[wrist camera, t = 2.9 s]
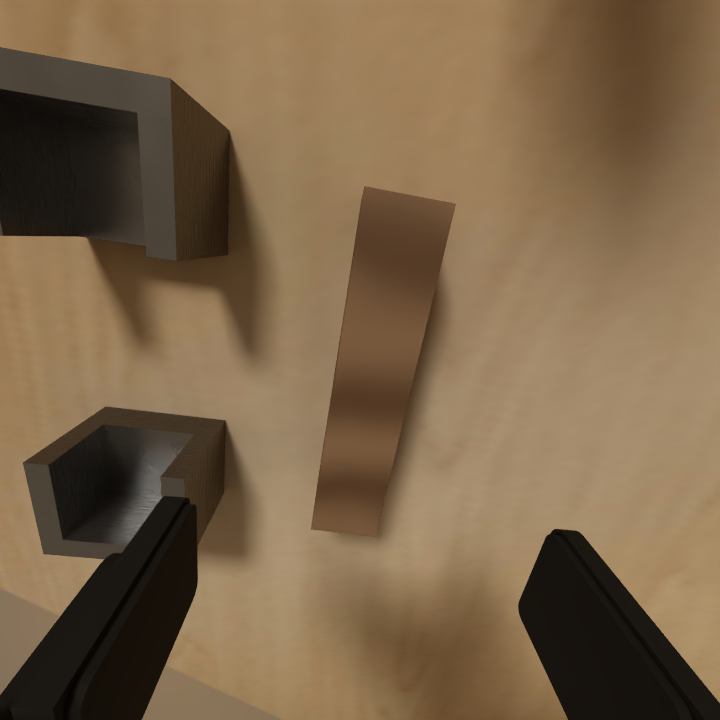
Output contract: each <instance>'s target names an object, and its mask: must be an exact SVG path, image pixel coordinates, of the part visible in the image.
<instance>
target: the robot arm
mask: <svg viewBox="0 0 720 720" xmlns="http://www.w3.org/2000/svg"><path fill="white" fill-rule="evenodd" d="M197 582H198V570H197V506H196V505H193V504H190V499H189V498H186V497H174V496H164V497H162V498H161V499H160V501H159V502H158V503H157V505H156V506H155V508H154V509H153V510H152V512H151V513H150V514H149V516H148V517H147V519H146V520H145V521H144V523H143V524H142V526H141V527H140V528H139V530H138V531H137V532H136V534H135V535H134V537H133V538H132V539H131V541H130V542H129V544H128V545H127V546H126V548H125V549H124V550H123V552H122V553H112V554H111V555H109V556H108V557H106V558H105V559H104V561H103V562H102V563H101V564H100V565H99V566H98V568H97V569H96V570H95V572H94V573H93V574H92V576H91V577H90V578H89V580H88V581H87V582H86V584H85V585H84V586H83V587H82V589H81V590H80V591H79V593H78V594H77V595H76V597H75V598H74V599H73V601H72V602H71V603H70V604H69V606H68V607H67V608H66V610H65V611H64V612H63V614H62V615H61V616H60V618H59V619H58V620H57V622H56V623H55V624H54V625H53V627H52V628H51V629H50V631H49V632H48V633H47V635H46V636H45V637H44V639H43V640H42V641H41V642H40V644H39V645H38V646H37V648H36V649H35V650H34V652H33V653H32V654H31V656H30V657H29V658H28V660H27V661H26V662H25V663H24V665H23V666H22V667H21V669H20V670H19V671H18V673H17V674H16V675H15V677H14V678H13V679H12V680H11V682H10V683H9V684H8V686H7V687H6V688H5V690H4V691H3V692H2V694H1V695H0V720H142V718H143V715H144V713H145V711H146V709H147V706H148V704H149V701H150V699H151V697H152V694H153V692H154V690H155V687H156V685H157V683H158V680H159V678H160V676H161V673H162V671H163V668H164V666H165V664H166V662H167V659H168V657H169V655H170V652H171V650H172V648H173V645H174V643H175V641H176V638H177V636H178V634H179V631H180V629H181V627H182V624H183V622H184V620H185V617H186V615H187V613H188V610H189V608H190V606H191V603H192V601H193V598H194V596H195V592H196V588H197ZM518 608H519V614H520V617H521V620H522V622H523V624H524V626H525V628H526V631H527V633H528V635H529V637H530V639H531V641H532V643H533V645H534V648H535V650H536V652H537V654H538V656H539V658H540V660H541V663H542V665H543V667H544V669H545V671H546V673H547V675H548V677H549V680H550V682H551V684H552V686H553V688H554V690H555V692H556V695H557V697H558V699H559V701H560V703H561V705H562V707H563V709H564V712H565V714H566V716H567V718H568V720H720V703H719V702H718V701H717V699H716V698H715V697H714V696H713V695H712V693H711V692H710V691H709V690H708V688H707V687H706V686H705V685H704V683H703V682H702V681H701V680H700V679H699V677H698V676H697V675H696V674H695V672H694V671H693V670H692V669H691V668H690V666H689V665H688V664H687V663H686V661H685V660H684V659H683V658H682V656H681V655H680V654H679V653H678V652H677V650H676V649H675V648H674V647H673V645H672V644H671V643H670V642H669V641H668V639H667V638H666V637H665V636H664V634H663V633H662V632H661V631H660V629H659V628H658V627H657V626H656V625H655V623H654V622H653V621H652V620H651V618H650V617H649V616H648V615H647V614H646V612H645V611H644V610H643V609H642V607H641V606H640V605H639V604H638V602H637V601H636V600H635V599H634V598H633V596H632V595H631V594H630V593H629V591H628V590H627V589H626V588H625V587H624V585H623V584H622V583H621V582H620V580H619V579H618V578H617V577H616V575H615V574H614V573H613V572H612V571H611V569H610V568H609V567H608V566H607V564H606V563H605V562H604V561H603V560H602V558H601V557H600V556H599V555H598V553H597V552H596V551H595V550H594V548H593V547H592V546H591V545H590V544H589V542H588V541H587V540H586V539H585V537H584V536H583V535H582V534H581V533H580V532H578V531H573V530H561V529H554V530H553V531H552V532H551V534H549V535H547V536H546V538H545V541H544V543H543V545H542V548H541V550H540V553H539V555H538V557H537V560H536V562H535V565H534V567H533V569H532V572H531V574H530V577H529V579H528V581H527V584H526V586H525V589H524V591H523V593H522V596H521V598H520V601H519V605H518Z"/></svg>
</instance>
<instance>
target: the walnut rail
mask: <svg viewBox="0 0 720 720" xmlns="http://www.w3.org/2000/svg"><path fill="white" fill-rule="evenodd" d="M455 205H456V204H453V203H448V202H443V201H438V200H433V199H427V198H422V197H417V196H412V195H407V194H401V193H396V192H391V191H386V190H381V189H375V188H370V187H364V191H363V196H362V200H361V207H360V213H359V220H358V226H357V233H356V239H355V246H354V252H353V258H352V265H351V271H350V278H349V284H348V291H347V297H346V304H345V310H344V316H343V323H342V329H341V336H340V342H339V349H338V355H337V362H336V368H335V374H334V381H333V387H332V394H331V400H330V407H329V413H328V419H327V426H326V432H325V439H324V445H323V452H322V458H321V465H320V471H319V477H318V484H317V491H316V498H315V505H314V512H313V519H312V526H311V529H312V530H321V531H330V532H339V533H348V534H357V535H365V536H374V537H376V533H377V529H378V524H379V520H380V516H381V512H382V508H383V504H384V500H385V495H386V491H387V487H388V483H389V479H390V475H391V471H392V466H393V462H394V458H395V454H396V450H397V446H398V442H399V437H400V433H401V429H402V425H403V421H404V417H405V412H406V408H407V404H408V400H409V396H410V392H411V388H412V383H413V379H414V375H415V371H416V367H417V363H418V359H419V354H420V350H421V346H422V342H423V338H424V334H425V330H426V325H427V321H428V317H429V313H430V309H431V305H432V301H433V296H434V292H435V288H436V284H437V280H438V276H439V272H440V267H441V263H442V259H443V255H444V251H445V247H446V242H447V238H448V234H449V230H450V226H451V222H452V218H453V213H454V209H455Z"/></svg>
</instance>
